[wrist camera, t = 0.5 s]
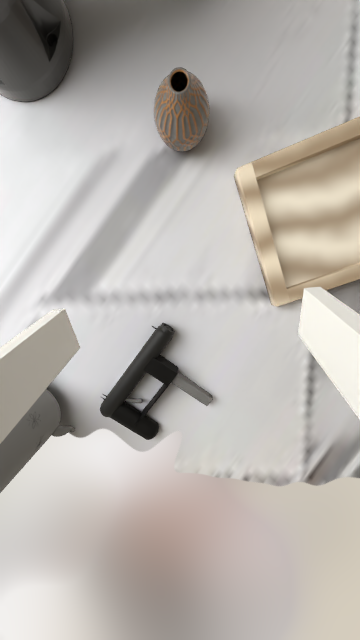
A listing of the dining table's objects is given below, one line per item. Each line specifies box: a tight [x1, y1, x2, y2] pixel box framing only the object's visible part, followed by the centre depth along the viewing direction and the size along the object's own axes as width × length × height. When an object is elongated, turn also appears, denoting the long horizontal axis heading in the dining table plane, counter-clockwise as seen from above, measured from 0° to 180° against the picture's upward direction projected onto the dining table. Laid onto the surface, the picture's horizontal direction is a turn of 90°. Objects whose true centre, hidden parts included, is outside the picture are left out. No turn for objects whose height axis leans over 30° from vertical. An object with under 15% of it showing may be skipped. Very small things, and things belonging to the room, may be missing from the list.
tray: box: [234, 117, 360, 307], centre depth 32 cm, size 20×20×2 cm
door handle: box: [100, 323, 213, 440], centre depth 39 cm, size 3×20×16 cm
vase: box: [154, 68, 209, 151], centre depth 28 cm, size 7×7×9 cm
